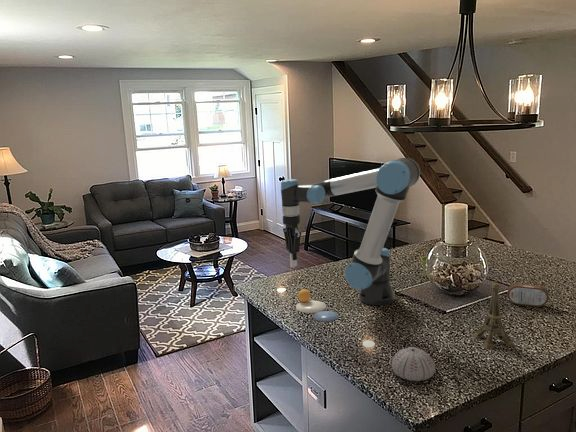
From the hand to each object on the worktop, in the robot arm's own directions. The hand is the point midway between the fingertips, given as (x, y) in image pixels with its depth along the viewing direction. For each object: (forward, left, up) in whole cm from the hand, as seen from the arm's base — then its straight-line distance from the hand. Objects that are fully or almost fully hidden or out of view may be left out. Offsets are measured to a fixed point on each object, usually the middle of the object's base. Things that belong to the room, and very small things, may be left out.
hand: (293, 266), depth 212 cm
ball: (-6, +4, -12) cm, 14 cm away
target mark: (-11, +9, -14) cm, 20 cm away
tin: (-96, -14, -15) cm, 98 cm away
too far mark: (-20, +17, -14) cm, 30 cm away
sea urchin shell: (-58, +51, -15) cm, 78 cm away
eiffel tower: (-82, +22, -15) cm, 86 cm away
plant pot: (-56, -41, -15) cm, 71 cm away
